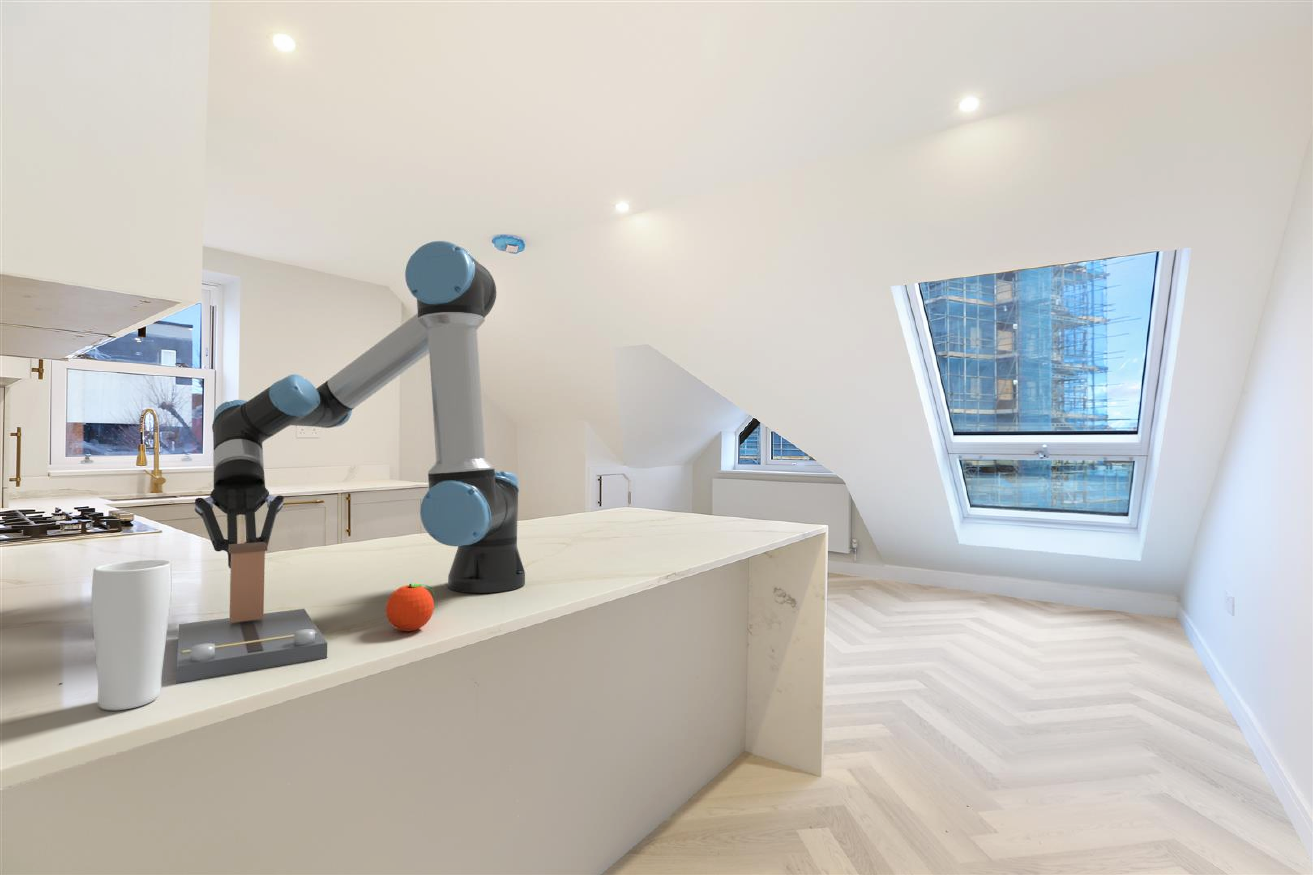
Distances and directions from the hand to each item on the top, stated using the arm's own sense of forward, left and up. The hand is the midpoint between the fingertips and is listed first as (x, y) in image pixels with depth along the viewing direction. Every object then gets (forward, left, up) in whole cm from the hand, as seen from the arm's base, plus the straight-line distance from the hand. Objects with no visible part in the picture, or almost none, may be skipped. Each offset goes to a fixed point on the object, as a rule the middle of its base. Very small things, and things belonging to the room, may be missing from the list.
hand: (243, 582), depth 99 cm
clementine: (-21, +17, -7) cm, 28 cm away
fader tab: (0, +7, -4) cm, 8 cm away
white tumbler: (+12, +28, -7) cm, 31 cm away
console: (0, +14, -7) cm, 15 cm away
